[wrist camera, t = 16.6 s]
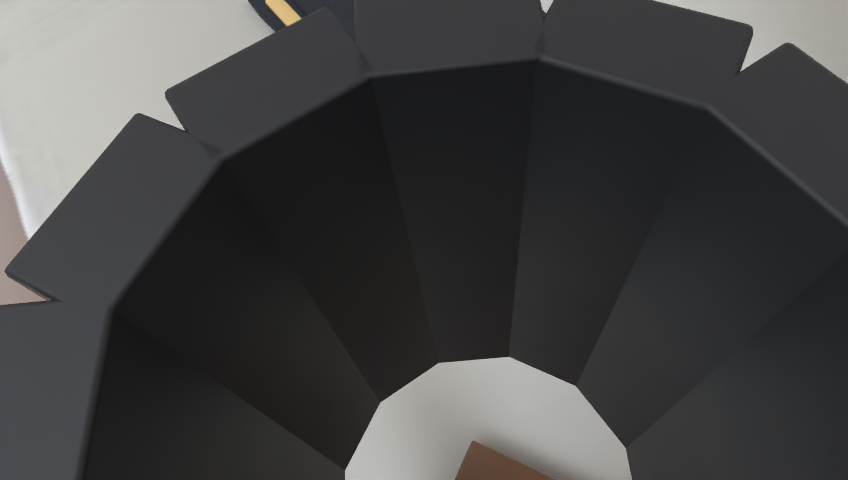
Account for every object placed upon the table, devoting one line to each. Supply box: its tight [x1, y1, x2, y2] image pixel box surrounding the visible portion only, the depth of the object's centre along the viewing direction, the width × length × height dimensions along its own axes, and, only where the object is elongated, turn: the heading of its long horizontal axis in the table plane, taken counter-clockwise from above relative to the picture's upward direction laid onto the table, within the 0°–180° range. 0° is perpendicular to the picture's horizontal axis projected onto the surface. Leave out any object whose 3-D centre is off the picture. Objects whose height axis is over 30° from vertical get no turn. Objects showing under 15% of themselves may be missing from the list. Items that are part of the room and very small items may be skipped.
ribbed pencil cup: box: [0, 0, 848, 480], centre depth 11 cm, size 10×10×12 cm
